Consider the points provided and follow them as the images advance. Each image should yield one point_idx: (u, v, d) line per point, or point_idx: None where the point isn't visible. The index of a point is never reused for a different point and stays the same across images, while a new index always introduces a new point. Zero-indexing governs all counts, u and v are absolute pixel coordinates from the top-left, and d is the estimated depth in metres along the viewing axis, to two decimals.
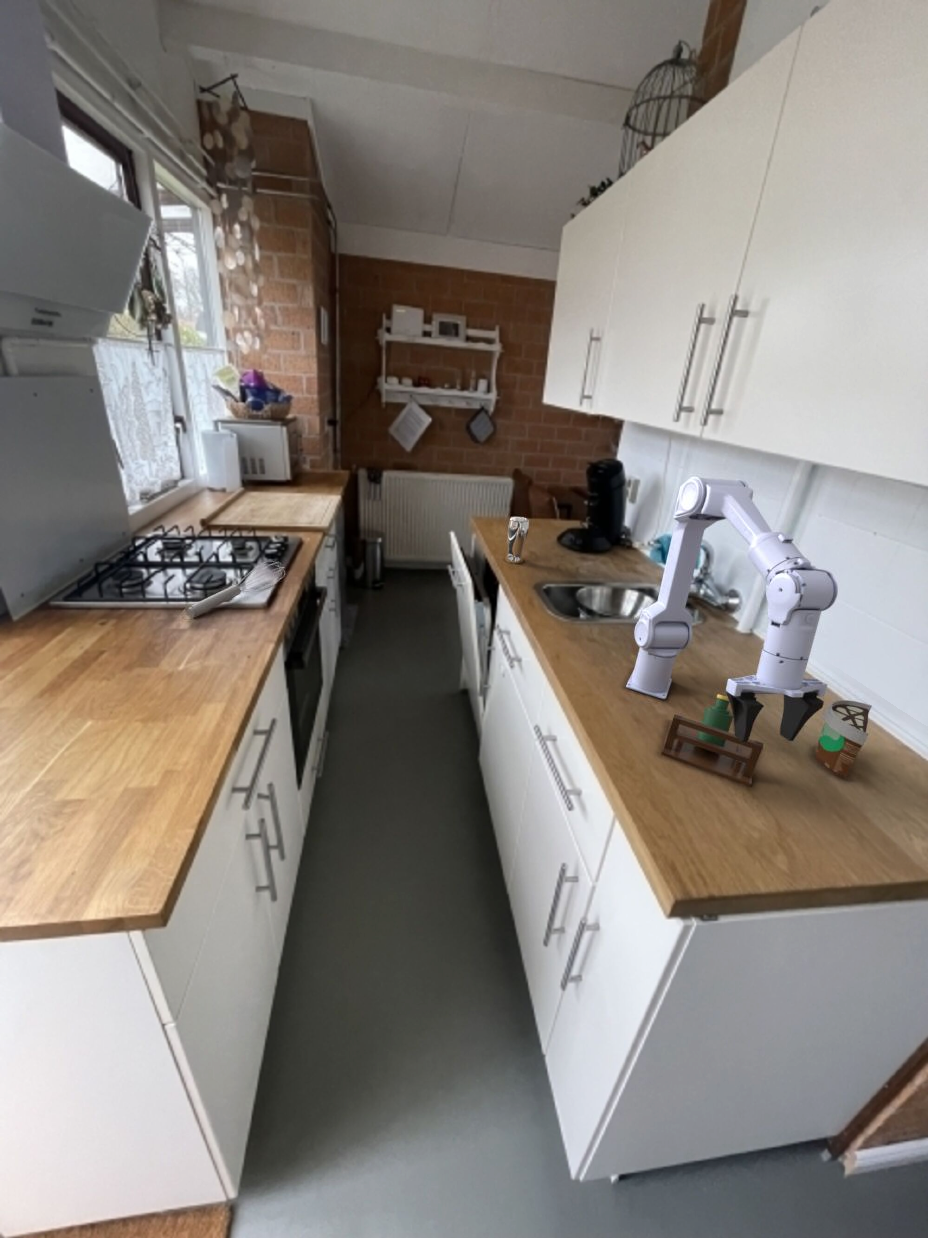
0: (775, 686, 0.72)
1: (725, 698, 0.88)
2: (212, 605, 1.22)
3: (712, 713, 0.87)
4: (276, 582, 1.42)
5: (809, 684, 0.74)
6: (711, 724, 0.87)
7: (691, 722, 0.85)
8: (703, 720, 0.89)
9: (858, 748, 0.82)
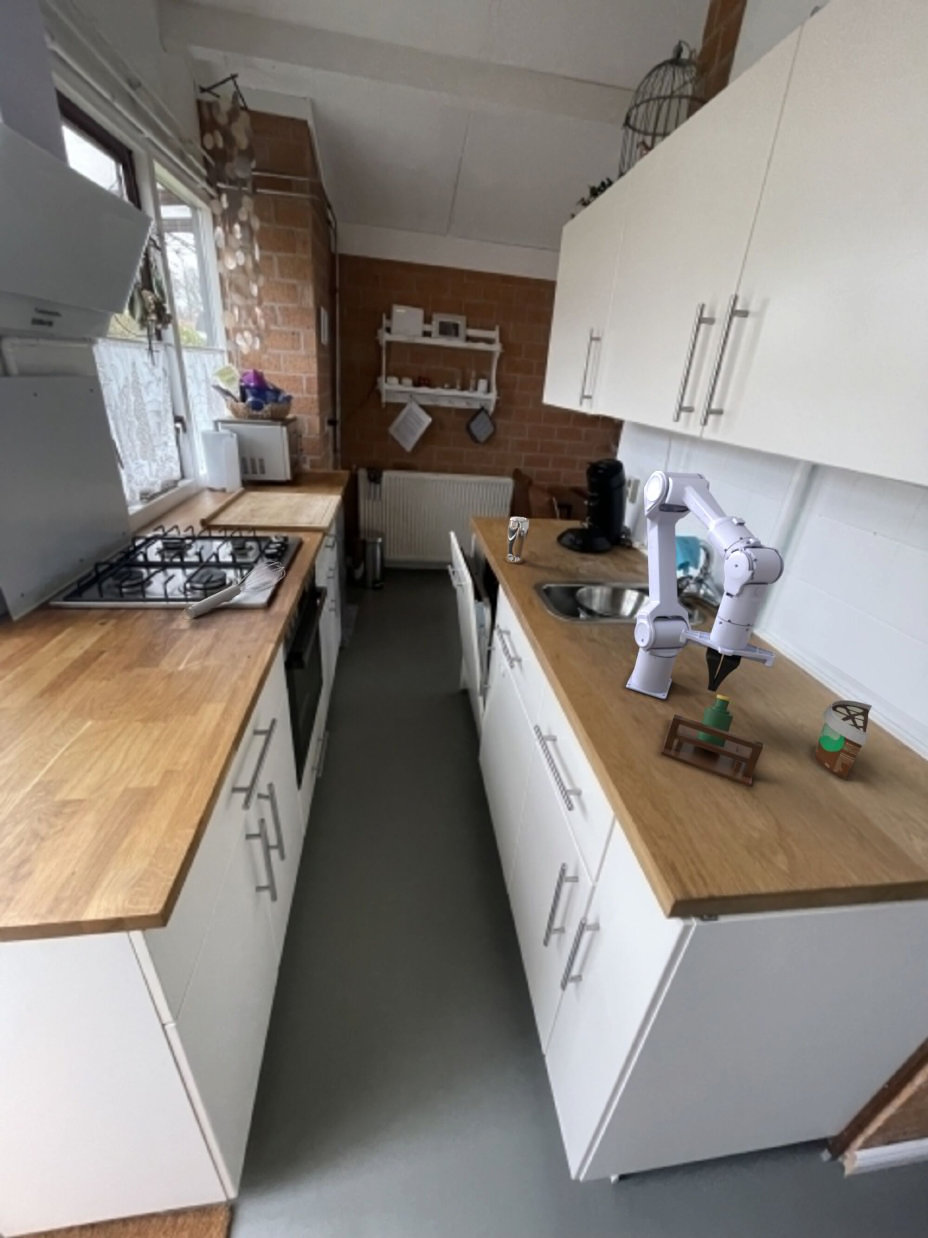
0: (713, 642, 0.85)
1: (725, 698, 0.88)
2: (212, 605, 1.22)
3: (712, 713, 0.87)
4: (276, 582, 1.42)
5: (756, 652, 0.84)
6: (711, 724, 0.87)
7: (691, 722, 0.85)
8: (703, 720, 0.89)
9: (858, 748, 0.82)
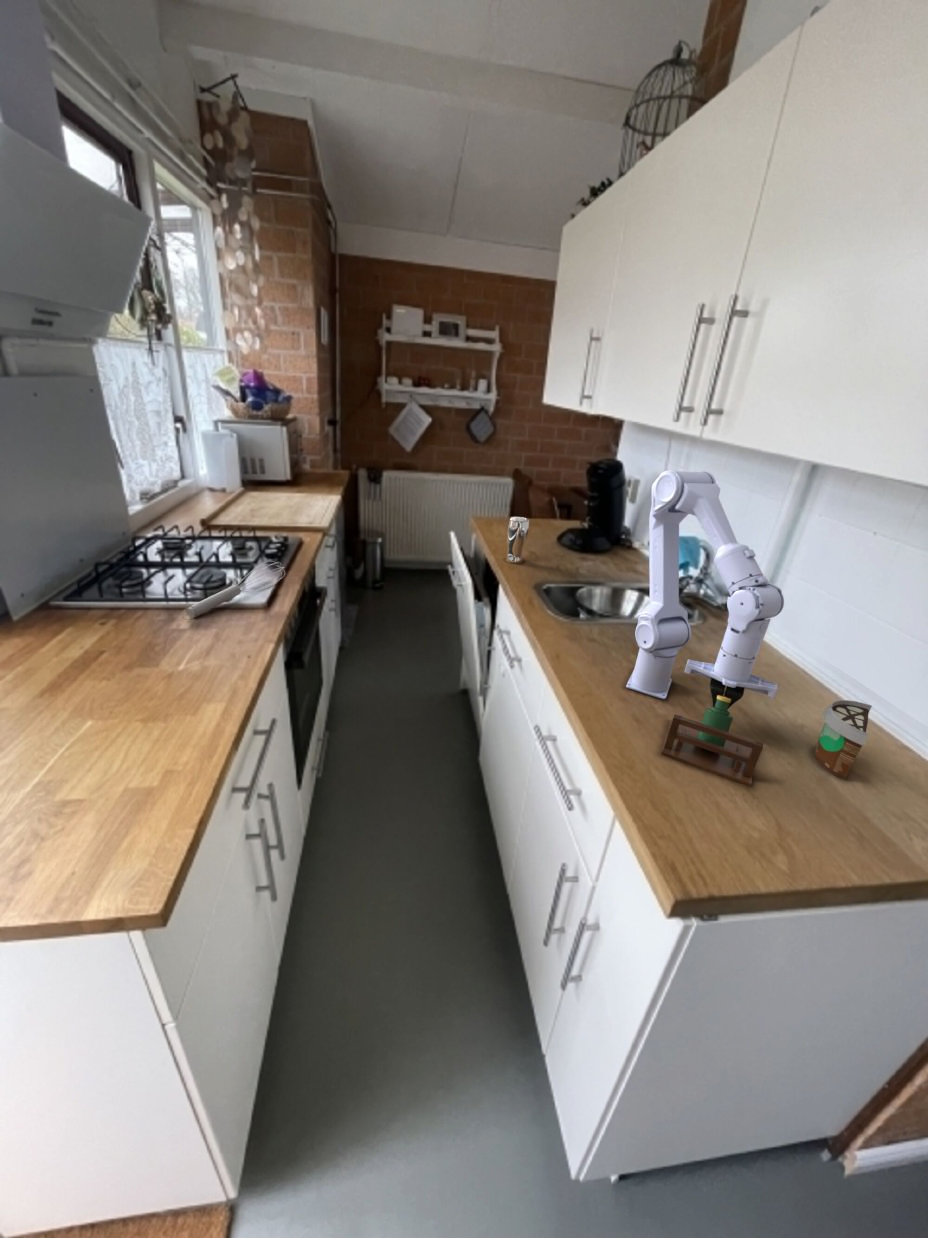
0: (717, 674, 0.89)
1: (725, 700, 0.87)
2: (212, 605, 1.22)
3: (711, 715, 0.87)
4: (276, 582, 1.42)
5: (759, 684, 0.87)
6: (711, 726, 0.87)
7: (691, 722, 0.85)
8: (703, 721, 0.89)
9: (858, 748, 0.82)
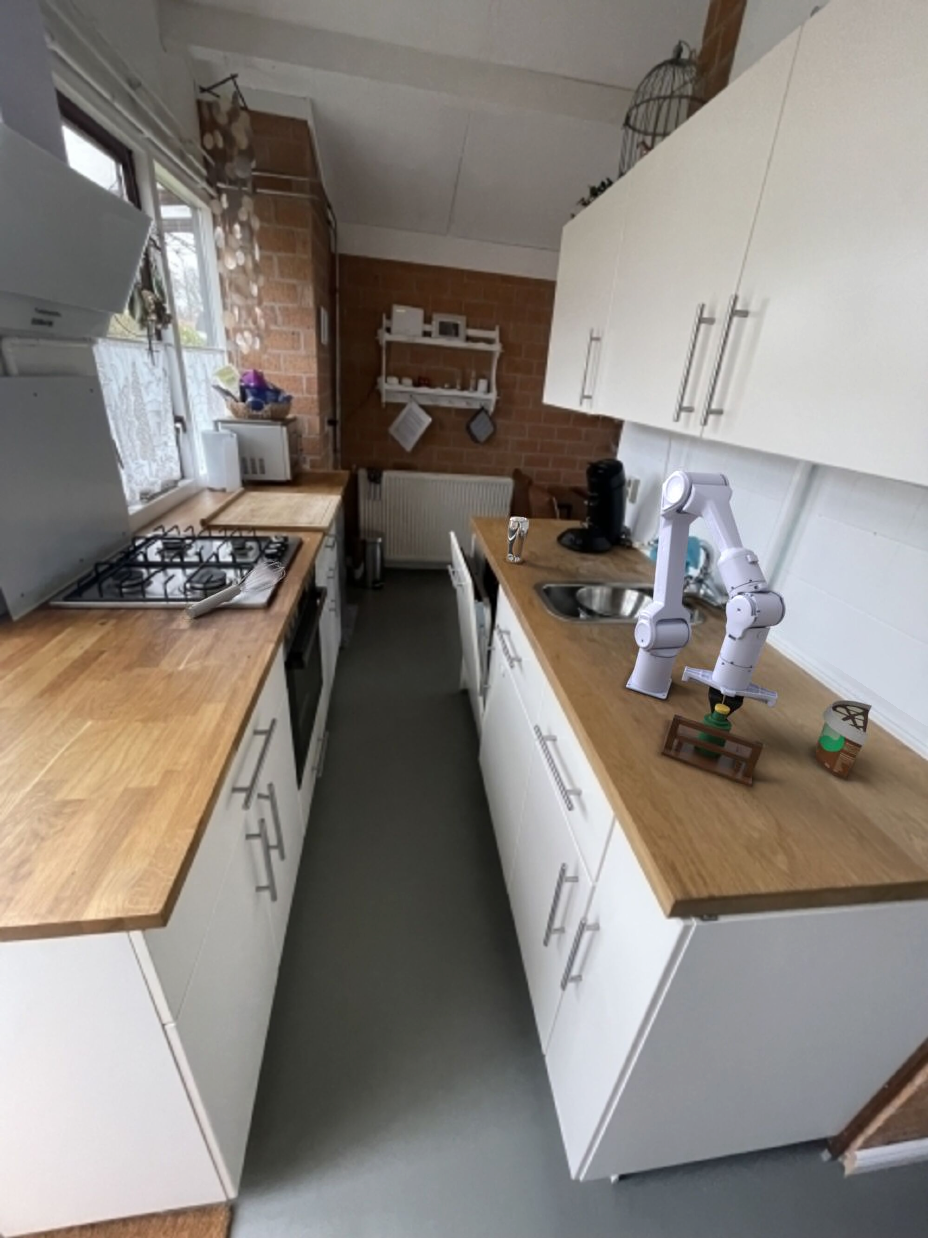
0: (716, 682, 0.86)
1: (723, 712, 0.85)
2: (212, 605, 1.22)
3: None
4: (276, 582, 1.42)
5: (758, 692, 0.85)
6: (708, 737, 0.86)
7: (691, 722, 0.85)
8: None
9: (858, 748, 0.82)
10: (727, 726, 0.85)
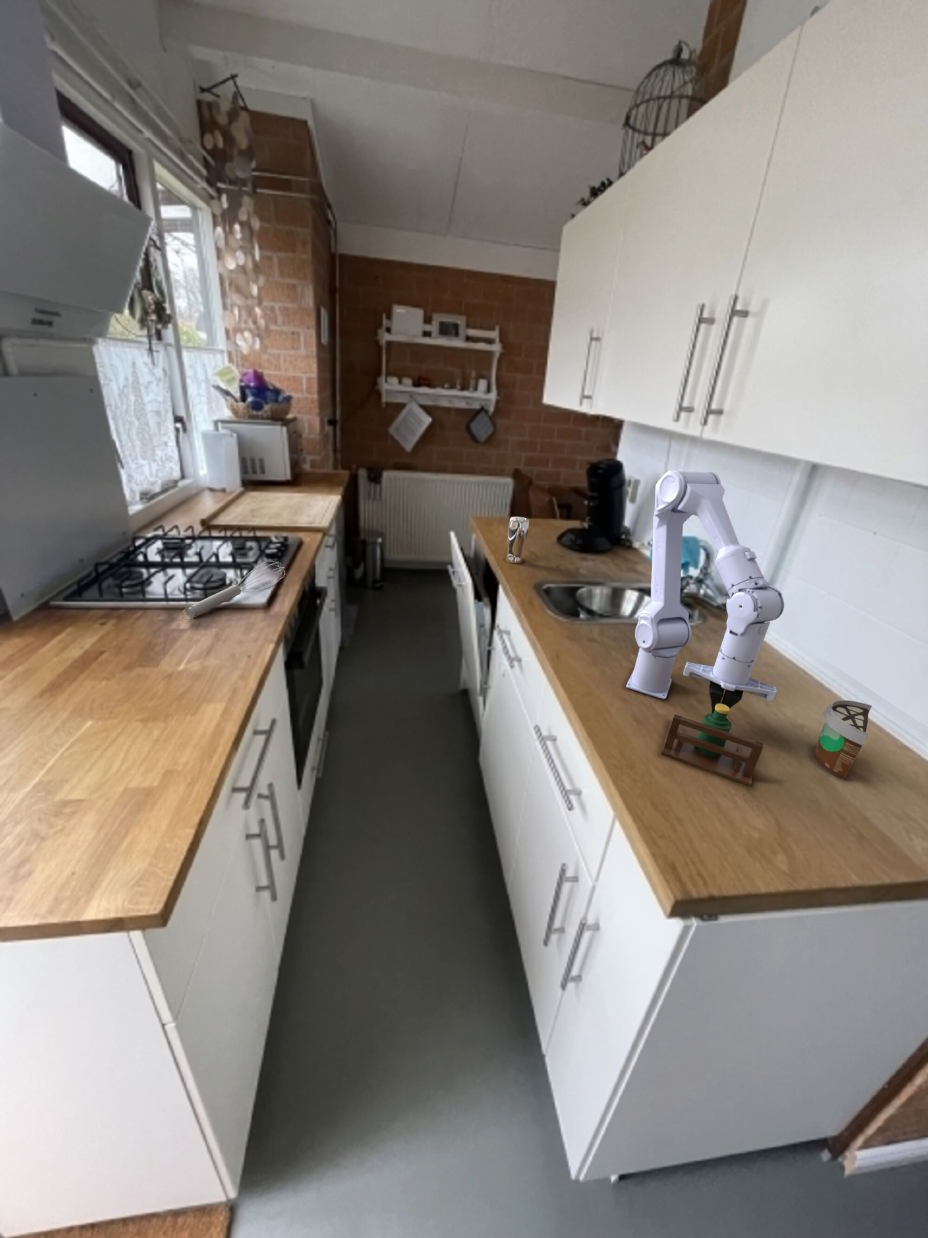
0: (716, 677, 0.88)
1: (723, 712, 0.85)
2: (212, 605, 1.22)
3: None
4: (276, 582, 1.42)
5: (758, 687, 0.86)
6: (708, 737, 0.86)
7: (691, 722, 0.85)
8: None
9: (858, 748, 0.82)
10: (727, 726, 0.85)
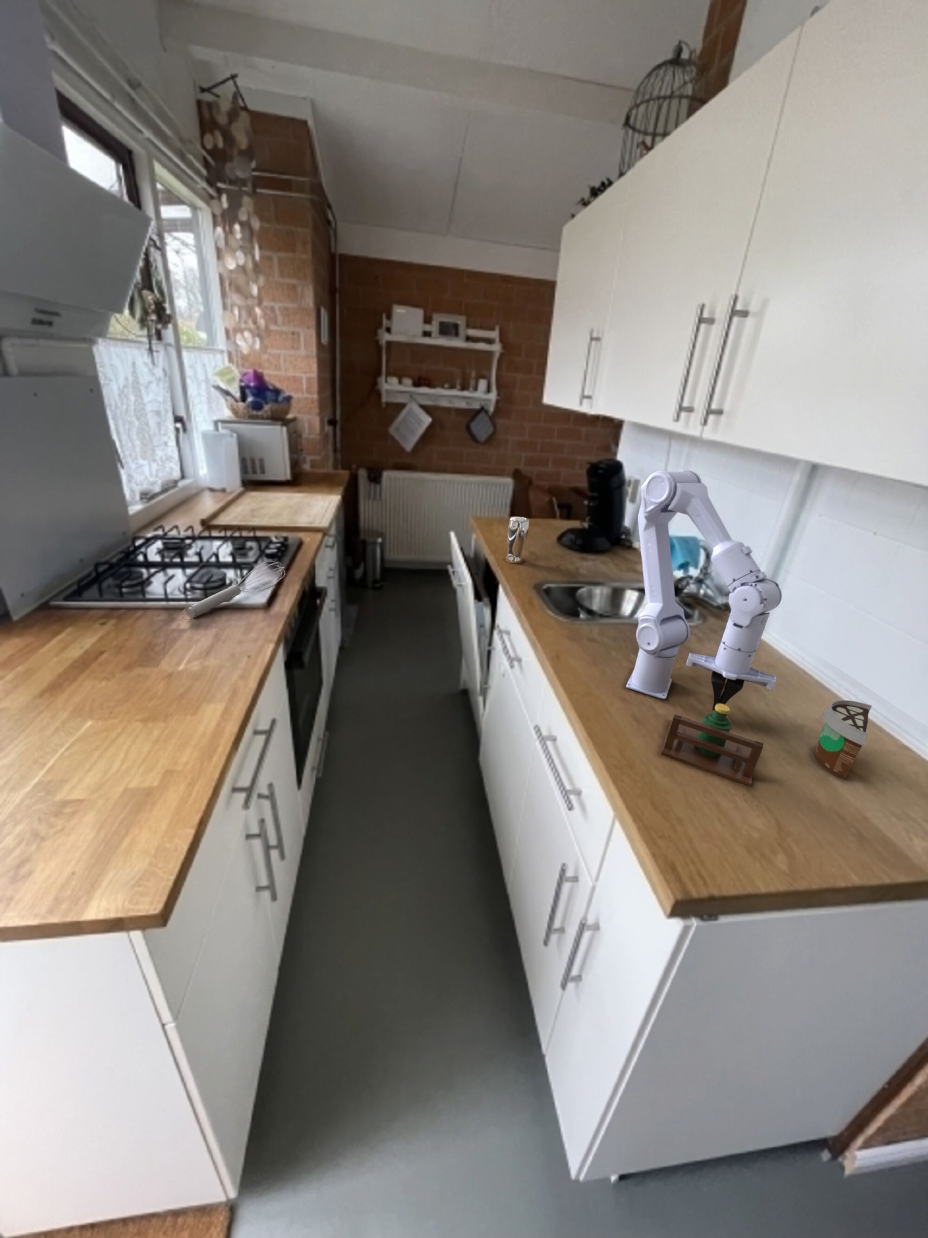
0: (718, 666, 0.91)
1: (723, 712, 0.85)
2: (212, 605, 1.22)
3: None
4: (276, 582, 1.42)
5: (758, 676, 0.90)
6: (708, 737, 0.86)
7: (691, 722, 0.85)
8: None
9: (858, 748, 0.82)
10: (727, 726, 0.85)
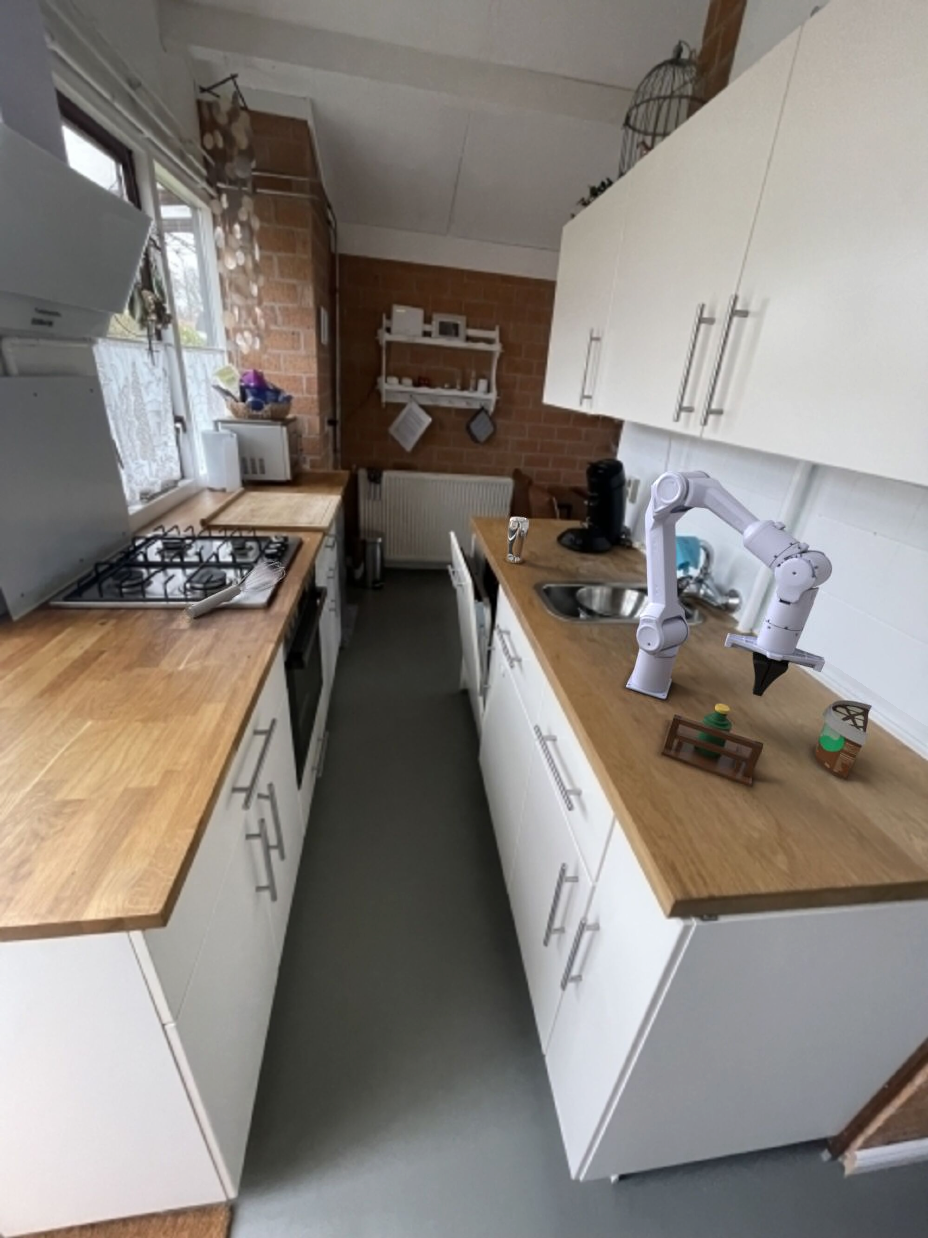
0: (761, 647, 0.85)
1: (723, 712, 0.85)
2: (212, 605, 1.22)
3: None
4: (276, 582, 1.42)
5: (805, 657, 0.84)
6: (708, 737, 0.86)
7: (691, 722, 0.85)
8: None
9: (858, 748, 0.82)
10: (727, 726, 0.85)
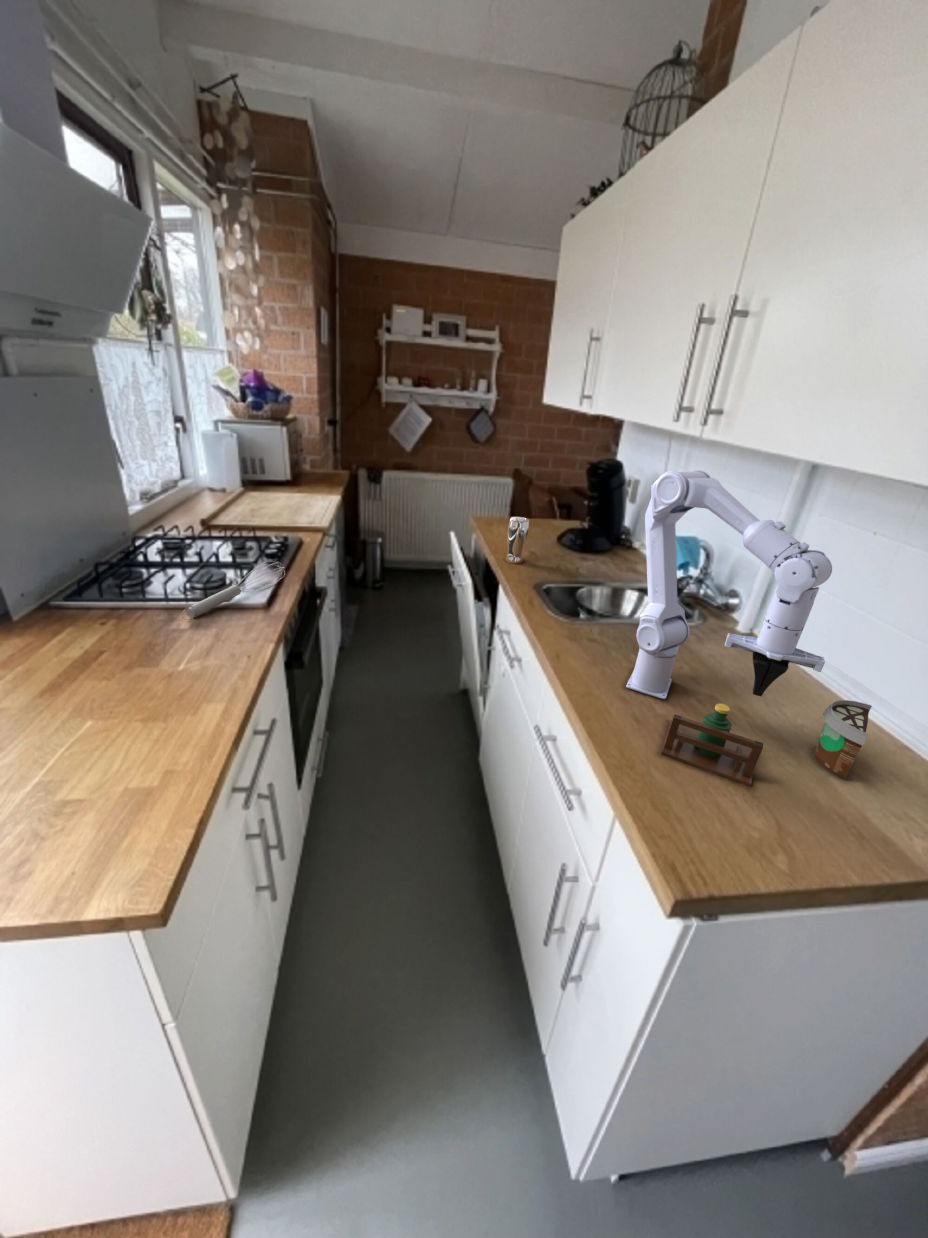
0: (761, 647, 0.85)
1: (723, 712, 0.85)
2: (212, 605, 1.22)
3: None
4: (276, 582, 1.42)
5: (805, 657, 0.84)
6: (708, 737, 0.86)
7: (691, 722, 0.85)
8: None
9: (858, 748, 0.82)
10: (727, 726, 0.85)
